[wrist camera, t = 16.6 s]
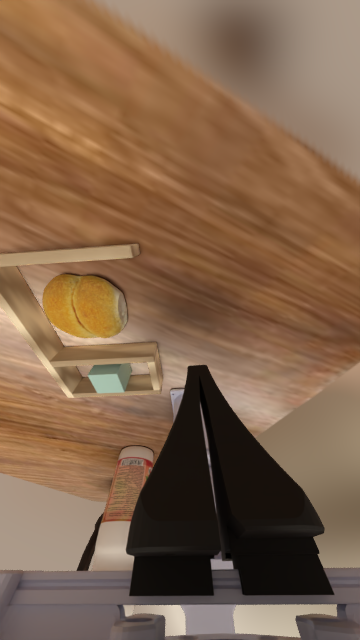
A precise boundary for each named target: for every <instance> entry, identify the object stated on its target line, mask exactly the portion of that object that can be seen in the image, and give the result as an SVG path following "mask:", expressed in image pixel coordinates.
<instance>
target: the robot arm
mask: <svg viewBox="0 0 360 640" xmlns="http://www.w3.org/2000/svg"><path fill="white" fill-rule="evenodd" d="M170 394H171V401H172V407H173V414H174V418H173V426H172V428H171V430H170V433H169V435H168V438H167V440H166V442H165V444H164V446H163V448H162V451H161V453H160V455H159V457H158V459H157V461H156V463H155V465H154V467H153V469H152V471H151V473H150V475H149V476H148V478H147V480H146V482H145V484H144V486H143V488H142V490H141V492H140V494H139V497H138V500H137V503H136V506H135V509H134V512H133V515H132V519H131V523H130V527H129V533H128V539H127V545H126V553H127V554H128V555H132V556H134V563H133V570H124V571H22V570H0V640H360V568H323V566H322V564H321V562H320V559H319V557H318V555H317V554H319V550H318V548H317V545H316V543H315V541H314V539H313V537H314V536H317V535H320V534H323V533H324V526H323V524H322V522H321V520H320V518H319V516H318V514H317V512H316V511H315V509H314V507H313V506H312V504H311V502H310V500H309V499H308V497H307V496H306V494H305V492H304V491H303V489H302V488H301V487H300V486H299V485H298V484H297V483H296V482H295V481H294V480H293V479H292V478H291V477H290V476H289V475H288V474H287V473H286V472H285V471H284V470H283V469H282V468H281V467H280V466H279V465H278V463H277V462H276V461H275V460H274V459H273V458H272V457H271V456H270V455H269V454H268V453H267V452H266V450H265V449H264V448H263V447H262V446H261V445H260V443H259V442H258V441H257V440H256V439H255V438H254V437H253V435H252V434H251V433H250V432H249V431H248V429H247V428H246V427H245V426H244V424H243V423H242V422H241V421H240V419H239V418H238V417H237V415H236V414H235V413H234V411H233V410H232V408H231V407H230V406H229V404H228V403H227V401H226V400H225V398H224V396H223V395H222V393H221V392H220V390H219V388H218V387H217V385H216V383H215V381H214V379H213V378H212V376H211V374H210V371H209V369H208V367H207V365H196V366H188V373H187V380H186V385H185V389H172V390H170ZM246 604H247V605H254V604H255V605H257V604H337V617H335V616H331V615H325V614H308V615H300V616H296V623H297V626H298V630H299V633H300V636H301V638H298V637H283V636H270V635H256V634H235V629H234V621H233V613H234V610H235V607H236V605H246ZM123 605H181V607H182V609H183V611H184V613H185V616H186V635H180V636H166V637H165V617H164V616H163V615H154V614H135V615H130V616H127V617H126V616H125V609H124V606H123Z"/></svg>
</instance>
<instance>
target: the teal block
mask: <svg viewBox="0 0 360 640" xmlns="http://www.w3.org/2000/svg"><path fill="white" fill-rule="evenodd" d="M131 372H132V370H131V367H130V363H124V364H104V365H94V366H93V368H92V369H91V371H90V372H89V374H88V377H89V379H90V381H91V382H92V384H93V386H94V388H95V390H96V391H97V393H121V392H125V389H126V386H127V384H128V381H129V378H130V375H131Z"/></svg>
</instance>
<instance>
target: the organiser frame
mask: <svg viewBox="0 0 360 640" xmlns="http://www.w3.org/2000/svg"><path fill="white" fill-rule="evenodd" d="M139 254H140V249H139V244H126V245H112V246H98V247H84V248H70V249H56V250H42V251H28V252H14V253H0V307H1V308H2V310H3V311H4V312H5V314H6V315H7V316H8V318H9V319H10V320H11V322H12V323H13V324H14V326H15V327H16V328H17V330H18V331H19V332H20V334H21V335H22V336H23V338H24V339H25V340H26V342H27V343H28V344H29V346H30V347H31V348H32V350H33V351H34V352H35V354H36V355H37V356H38V358H39V359H40V361H41V362H42V363H43V365H44V366H45V367H46V369H47V370H48V371H49V373H50V374H51V375H52V377H53V378H54V379H55V381H56V382H57V383H58V385H59V386H60V387H61V389H62V390H63V391H64V393H65V394H66V395H67V397H68V398H77V397H100V396H123V395H146V394H161V390H162V381H163V376H162V370H161V365H160V359H159V354H158V348H157V343H156V342H148V343H129V344H110V345H91V346H72V347H64V346H63V344H62V342H61V341H60V339H59V337H58V335H57V334H56V332H55V330H54V329H53V327H52V325H51V324H50V322H49V320H48V319H47V317H46V315H45V314H44V312H43V310H42V309H41V307H40V305H39V304H38V302H37V300H36V298H35V297H34V295H33V293H32V292H31V290H30V288H29V287H28V285H27V283H26V282H25V280H24V278H23V277H22V275H21V273H20V272H19V270H18V268H17V267H16V266H20V265H35V264H49V263H64V262H78V261H93V260H108V259H122V258H133V257H135V256H137V255H139ZM145 362H147V364H148V369H149V373H150V375H130V378H129V381H128V384H127V386H126V389H125V392H121V393H97V391H96V390H95V388H94V386H93V384H92V382H91V381H90V379H89V377H88V378H82V376H81V374H80V372H79V371H78V369H77V367H76V366H84V365H104V364H124V363H145Z"/></svg>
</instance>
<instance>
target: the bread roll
mask: <svg viewBox="0 0 360 640" xmlns="http://www.w3.org/2000/svg"><path fill="white" fill-rule="evenodd" d="M43 308H44V311H45V314H46V316H47V318H48V319H49V320H50V322H51V323H52V324H53V325H55V326H56V327H57V328H59V329H60V330H62V331H64V332H66V333H69V334H71V335H73V336H76V337H81V338H96V337H101V338H109V337H112V336H114V335H116V334H118V333H120V331H121V330H122V329H123V328H124V326H125V324H126V322H127V307H126V302H125V298H124V295H123V293H122V292H121V291H120V290H119V289H117V288H116V287H115V286H113V285H112V284H111V283H110V282H108V281H106V280H105V279H102V278H99V277H96V276H92V275H89V276H75V275H70V274H63V275H59V276H56V277H55V278H53V279H52V280H51V281H50V282H49V283H48V285H47V286H46V287H45V289H44V293H43Z"/></svg>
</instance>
